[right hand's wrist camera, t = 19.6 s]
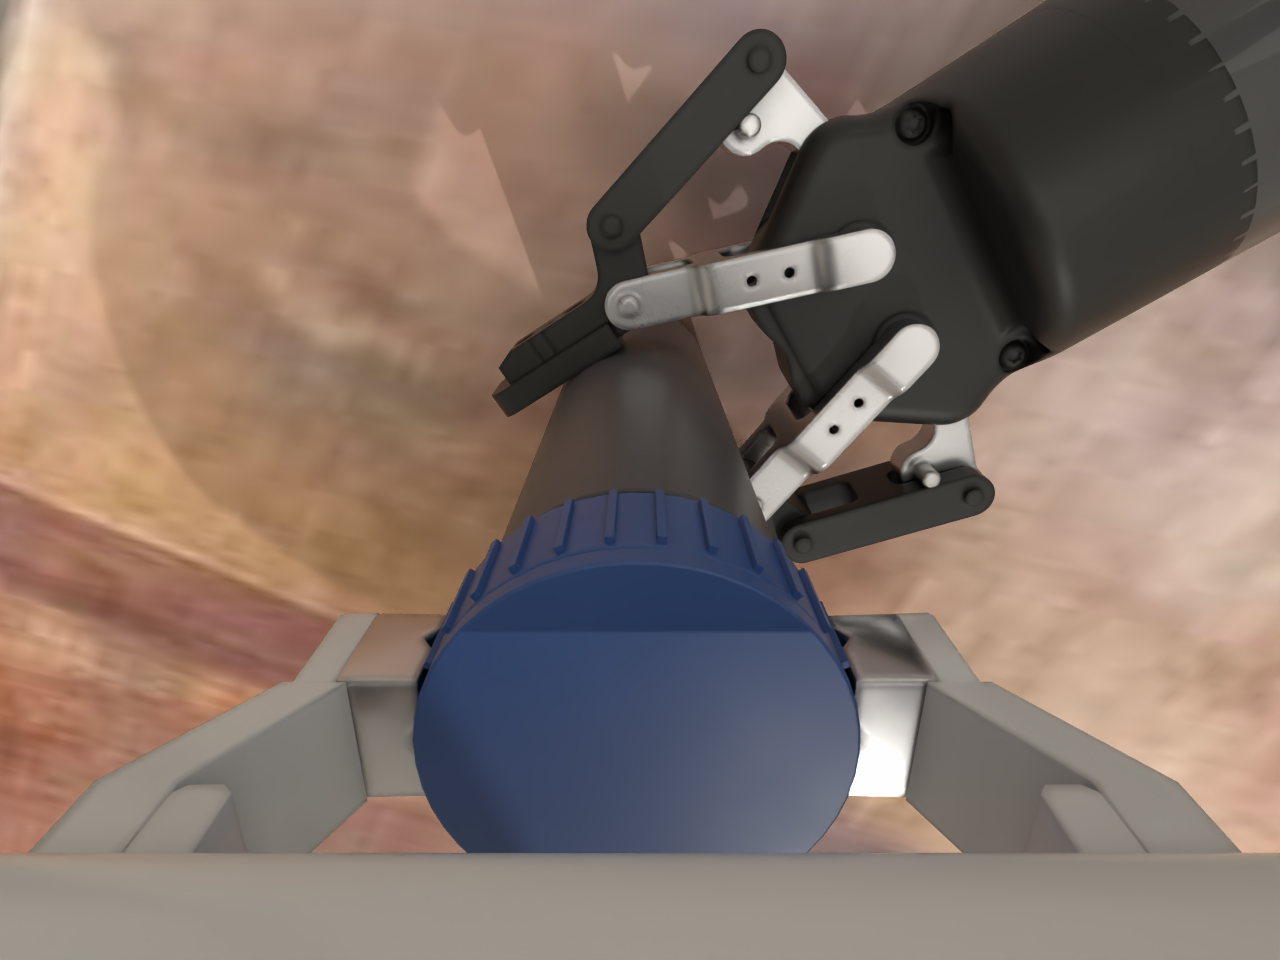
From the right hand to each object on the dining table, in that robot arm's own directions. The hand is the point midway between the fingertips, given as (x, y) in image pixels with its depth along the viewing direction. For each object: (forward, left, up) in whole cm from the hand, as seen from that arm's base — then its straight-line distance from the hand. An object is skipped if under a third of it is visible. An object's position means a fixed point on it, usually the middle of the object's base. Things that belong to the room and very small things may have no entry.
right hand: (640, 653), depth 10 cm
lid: (0, 0, +2) cm, 2 cm away
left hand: (-2, +1, -11) cm, 11 cm away
